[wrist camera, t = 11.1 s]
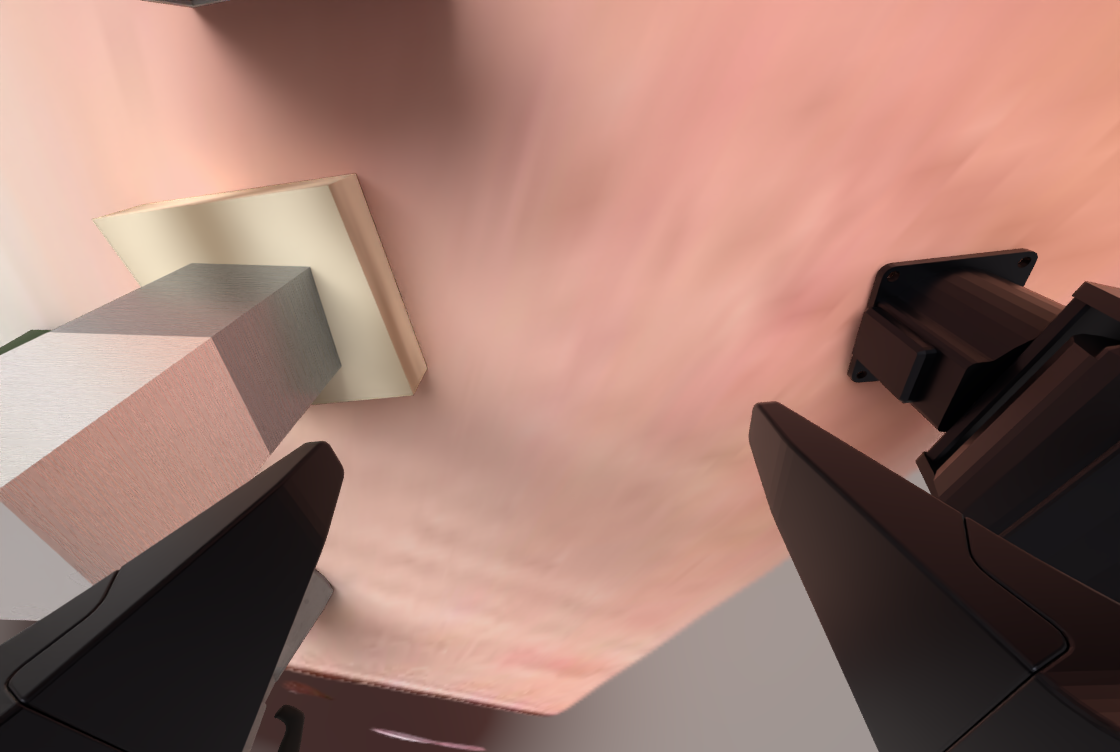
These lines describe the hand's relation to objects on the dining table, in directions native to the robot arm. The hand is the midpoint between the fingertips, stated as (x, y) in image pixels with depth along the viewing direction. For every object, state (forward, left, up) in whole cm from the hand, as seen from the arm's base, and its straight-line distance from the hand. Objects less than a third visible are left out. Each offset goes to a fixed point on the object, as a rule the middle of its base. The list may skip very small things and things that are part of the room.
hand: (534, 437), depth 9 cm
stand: (+13, +1, -13) cm, 18 cm away
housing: (+13, +1, -10) cm, 17 cm away
